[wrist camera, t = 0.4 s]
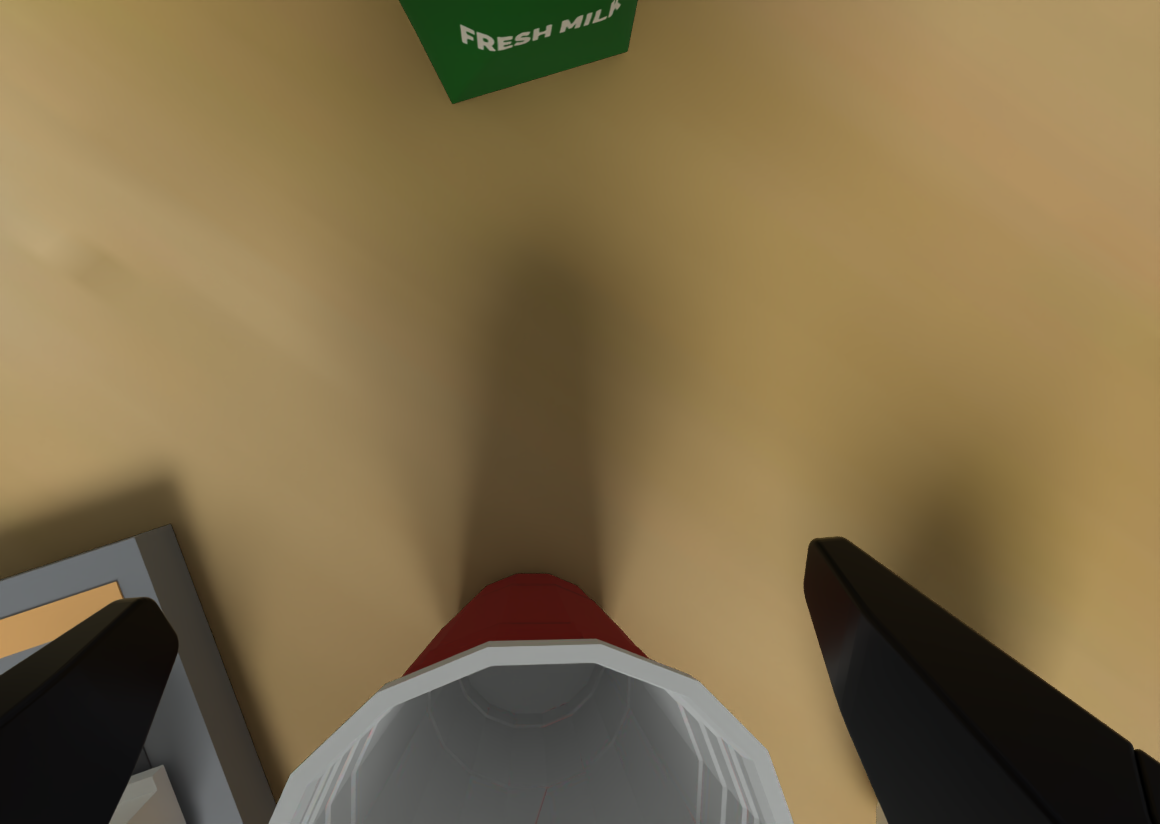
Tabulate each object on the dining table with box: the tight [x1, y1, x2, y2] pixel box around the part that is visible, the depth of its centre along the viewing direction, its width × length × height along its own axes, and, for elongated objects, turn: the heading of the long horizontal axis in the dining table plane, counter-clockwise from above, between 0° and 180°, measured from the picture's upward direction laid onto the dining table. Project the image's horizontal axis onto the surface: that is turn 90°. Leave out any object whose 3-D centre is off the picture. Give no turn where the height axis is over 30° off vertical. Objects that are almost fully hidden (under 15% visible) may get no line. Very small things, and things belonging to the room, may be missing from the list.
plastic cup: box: [269, 574, 794, 824], centre depth 17 cm, size 11×11×12 cm
